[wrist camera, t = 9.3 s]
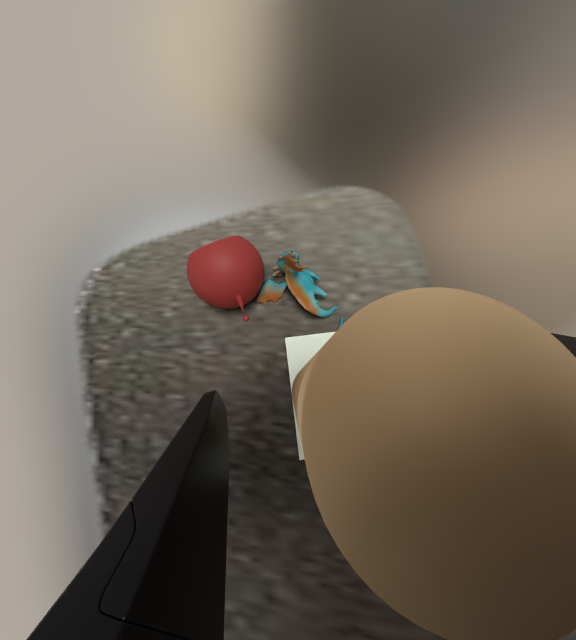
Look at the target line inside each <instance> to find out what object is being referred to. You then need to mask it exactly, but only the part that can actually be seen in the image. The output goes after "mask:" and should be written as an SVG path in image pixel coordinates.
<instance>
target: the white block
mask: <svg viewBox="0 0 576 640" xmlns="http://www.w3.org/2000/svg"><path fill="white" fill-rule="evenodd" d="M334 333H335V332H329V333H321V334H313V335H304V336H296V337H287V338H285V342H286V350H287V359H288V367H289V376H290V384H291V393H292V385H293V382H294V379H295V377H296V375H297V374H298V373H299V371H300V370H301V369H302V368H303V367H304V366H305V365H306V364H307V363H308V362H309V361H310V359H311V358H312V357H313V356H314V355H315V354H316V353H317V352H318V351H319V350H320V349H321V348H322V346H323V345H324V344H325V343H326V342H327V341H328V340H329V339H330V338H331V337H332V336H333V334H334ZM292 401H293V399H292ZM293 410H294V418H295V426H296V435H297V443H298V452H299V460H305V458H304V453H303V448H302V443H301V438H300V433H299V429H298V424H297V419H296V414H295V409H294V404H293Z"/></svg>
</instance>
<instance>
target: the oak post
mask: <svg viewBox="0 0 576 640" xmlns="http://www.w3.org/2000/svg"><path fill="white" fill-rule="evenodd" d="M292 399H293V404H294V409H295V414H296V419H297V424H298V429H299V433H300V438H301V443H302V448H303V453H304V458H305V463H306V468H307V473H308V477H309V481H310V484H311V488H312V491H313V495H314V498H315V501H316V504H317V506H318V508H319V511H320V513H321V516H322V518H323V521H324V523H325V525H326V527H327V529H328V530H329V532H330V534H331V536H332V538H333V540H334V541H335V543H336V545H337V547H338V549H339V550H340V551H341V553H342V554H343V556H344V557H345V558H346V560H347V561H348V563H349V564H350V565H351V567H352V568H353V570H354V571H355V572H356V573H357V574H358V575H359V577H360V578H361V579H362V580H363V581H364V582H365V583H366V584H367V585H368V586H369V588H370V589H371V590H372V591H373V592H374V593H375V594H376V595H378V596H379V597H380V598H381V599H382V600H383V601H384V602H386V603H387V604H388V605H389V606H390V607H391V608H393V609H394V610H395V611H396V612H398V613H399V614H401V615H402V616H404V617H405V618H407V619H408V620H410V621H411V622H413V623H414V624H416V625H418V626H419V627H421V628H423V629H425V630H427V631H429V632H432V633H434V634H436V635H438V636H440V637H442V638H444V639H447V640H556V639H558V638H560V637H562V636H565V635H567V634H569V633H570V632H572V631H573V630H575V629H576V357H575V356H574V355H573V354H572V353H571V352H570V351H569V350H568V349H567V348H566V347H565V346H564V345H563V344H562V343H561V342H560V341H559V340H558V339H557V338H555V337H554V336H553V335H552V334H551V333H549V332H548V331H547V330H546V329H545V328H544V327H542V326H540V325H539V324H538V323H536V322H535V321H534V320H532V319H531V318H529V317H528V316H526V315H524V314H523V313H521V312H519V311H517V310H515V309H514V308H512V307H510V306H508V305H506V304H504V303H501V302H499V301H497V300H494V299H492V298H489V297H486V296H483V295H480V294H476V293H474V292H469V291H463V290H459V289H451V288H440V287H432V288H417V289H410V290H404V291H400V292H397V293H394V294H390V295H387V296H385V297H383V298H380V299H378V300H376V301H374V302H372V303H370V304H369V305H367V306H365V307H364V308H362V309H361V310H359V311H358V312H356V313H355V314H354V315H353V316H352V317H350V318H349V319H348V320H347V321H346V322H345V323H344V324H343V325H342V326H341V327H340V328H339V329H338V330H337V331H336V332H335V333H334V334H333V336H332V337H331V338H330V339H329V340H328V341H327V342H326V343H325V344H324V345H323V346H322V348H321V349H320V350H319V351H318V352H317V353H316V354H315V355H314V356H313V357H312V358H311V359H310V361H309V362H308V363H307V364H306V365H305V366H304V367H303V368H302V369H301V370H300V371H299V373H298V374H297V375H296V377H295V379H294V382H293V385H292Z"/></svg>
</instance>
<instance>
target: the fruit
mask: <svg viewBox="0 0 576 640" xmlns="http://www.w3.org/2000/svg"><path fill="white" fill-rule="evenodd" d="M187 275H188V279H189V282H190V285H191V287H192V288H193V290H194V291H195V293H196V294H197V295H198V296H199V297H200V298H201V299H202V300H203V301H205V302H206V303H208V304H210V305H212V306H215V307H218V308H225V309H231V308H237V307H241V309H242V311H243V313H244V310H243V305H245V304H247V303H248V302H250V301H251V300H252V299H253V298H254V297H255V296H256V295H257V294H258V292H259V290H260V289H261V286H262V283H263V279H264V266H263V262H262V259H261V256H260V254H259V253H258V251H257V250H256V248H255V247H254V246H253V245H252V244H251V243H250V242H249V241H247V240H246V239H244V238H243V237H241V236H233V237H229V238H225V239H222V240H219V241H216V242H213V243H211V244H208V245H206V246H204V247H201V248H199V249H197V250H195V251H194V252H192V253H191V254H190V255H189V258H188V262H187ZM243 320H244V321H248V320H249V317H248V316H247V315H245V316H244V317H243Z"/></svg>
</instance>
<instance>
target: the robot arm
mask: <svg viewBox="0 0 576 640" xmlns="http://www.w3.org/2000/svg"><path fill="white" fill-rule="evenodd" d="M551 334H552V335H553V336H554V337H555V338H557V339H558V340H559V341H560V342H561V343H562V344H563V345H564V346H565V347H566V348H567V349H568V350H569V351H570V352H571V353H572V354H573V355H574V356H575V357H576V337H570V336H565V335H559V334H553V333H551ZM228 484H229V441H228V428H227V415H226V408H225V405H224V403H223V401H222V399H221V397H220V395H219V393H218V392H217V391H215V390H214V391H211V392H207V393H205V394H204V395H203V396H202V398H201V399H200V401H199V402H198V404H197V405H196V406H195V408H194V409H193V411H192V412H191V414H190V415H189V417H188V418H187V419H186V421H185V422H184V424H183V425H182V427H181V428H180V430H179V431H178V432H177V434H176V435H175V437H174V438H173V440H172V441H171V443H170V444H169V445H168V447H167V448H166V450H165V451H164V453H163V454H162V456H161V457H160V459H159V460H158V461H157V463H156V464H155V466H154V467H153V469H152V470H151V472H150V473H149V474H148V476H147V477H146V479H145V480H144V482H143V483H142V485H141V486H140V487H139V489H138V490H137V492H136V493H135V495H134V496H133V498H132V501H130V502H129V503H128V505H127V506H126V508H125V509H124V510H123V512H122V513H121V515H120V516H119V518H118V519H117V520H116V522H115V523H114V525H113V526H112V527H111V529H110V530H109V532H108V533H107V534H106V536H105V537H104V539H103V540H102V541H101V543H100V544H99V546H98V547H97V548H96V550H95V551H94V552H93V554H92V555H91V556H90V558H89V559H88V560H87V562H86V563H85V564H84V566H83V567H82V568H81V570H80V571H79V572H78V574H77V575H76V576H75V578H74V579H73V580H72V581H71V583H70V584H69V585H68V586H67V588H66V589H65V590H64V592H63V593H62V594H61V596H60V597H59V598H58V599H57V601H56V602H55V603H54V605H53V606H52V607H51V608H50V610H49V611H48V612H47V614H46V615H45V616H44V618H43V619H42V620H41V621H40V623H39V624H38V625H37V627H36V628H35V630H34V631H33V632H32V633H31V634H30V636H29V637H28V639H27V640H224V609H225V578H226V546H227V515H228Z"/></svg>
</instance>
